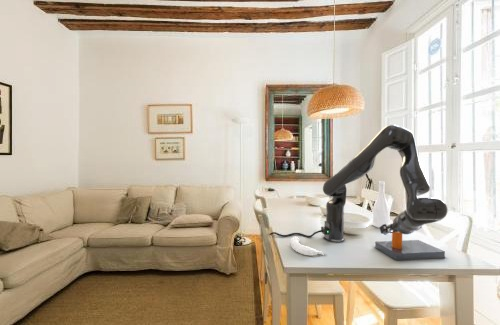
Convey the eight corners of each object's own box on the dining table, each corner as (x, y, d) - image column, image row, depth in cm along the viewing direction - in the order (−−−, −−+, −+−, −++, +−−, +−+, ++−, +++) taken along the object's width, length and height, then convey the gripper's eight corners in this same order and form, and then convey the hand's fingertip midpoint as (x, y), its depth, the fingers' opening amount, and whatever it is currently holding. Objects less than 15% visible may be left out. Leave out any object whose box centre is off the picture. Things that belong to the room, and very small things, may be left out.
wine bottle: (369, 224, 152) (370, 180, 152) (382, 224, 153) (383, 180, 153) (378, 228, 143) (380, 182, 142) (392, 228, 144) (393, 182, 143)
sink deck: (396, 260, 99) (396, 253, 99) (375, 247, 113) (375, 241, 113) (444, 257, 102) (444, 251, 102) (418, 245, 116) (418, 239, 116)
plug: (396, 254, 105) (396, 231, 104) (389, 251, 109) (390, 228, 108) (403, 254, 105) (404, 231, 105) (397, 251, 109) (397, 228, 109)
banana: (288, 240, 121) (316, 241, 120) (292, 258, 102) (325, 259, 101) (288, 232, 121) (316, 233, 120) (293, 248, 102) (326, 249, 101)
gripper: (423, 210, 87) (408, 221, 101) (384, 214, 90) (374, 224, 103) (432, 230, 83) (415, 238, 97) (390, 233, 86) (380, 241, 99)
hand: (394, 231), depth 100 cm, fingers open, 8 cm apart
